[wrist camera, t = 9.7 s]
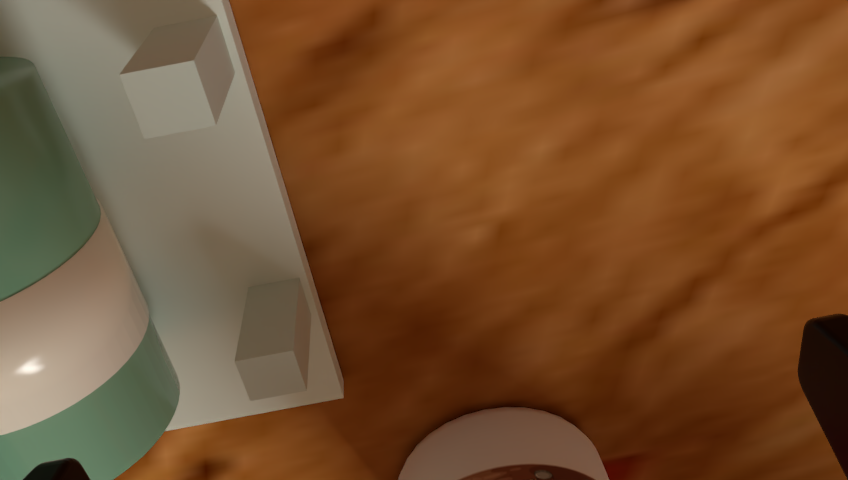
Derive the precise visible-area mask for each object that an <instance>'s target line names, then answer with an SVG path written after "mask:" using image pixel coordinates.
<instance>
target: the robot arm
mask: <svg viewBox="0 0 848 480" xmlns="http://www.w3.org/2000/svg"><path fill="white" fill-rule="evenodd" d="M798 377H799V381H800V384H801V387H802V389H803V392H804V394H805V396H806V398H807V400H808V401H809V403H810V405H811V407H812V409H813V411H814V413H815V415H816V417H817V419H818V421H819V423H820V425H821V427H822V429H823V431H824V433H825V435H826V437H827V439H828V441H829V443H830V445H831V447H832V449H833V451H834V453H835V455H836V457H837V459H838V461H839V463H840V465H841V467H842V469H843V471H844V473H845V475H846V477H847V479H848V315H845V314H833V315H828V316H823V317H817V318H813V319H810V320H808V322H807V323H806V324H805V326H804V330H803V337H802V343H801V350H800V357H799V364H798ZM22 480H91V479H90V478H89V476H88V475H87V473H86V471H85V470H84V468H83V466H82V465H81V464H80V462H79V461H77V460H76V459H74V458H64V459H58V460H53V461H48V462H44V463H41V464H39V465H37V466H36V467H35V468H34V469H33V470H32V471H31V472H30V473H29V474H28V475H27V476H25V477H24V478H23V479H22Z"/></svg>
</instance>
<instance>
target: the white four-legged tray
mask: <svg viewBox="0 0 848 480" xmlns="http://www.w3.org/2000/svg"><path fill="white" fill-rule="evenodd" d="M4 56H5V57H19V58H24V59H28V60H30V61H31V62H33V63H34V65H35V66H36V69H37V71H38V73H39V75H40V77H41V79H42V82H43V84H44V86H45V88H46V90H47V92H48V95H49V97H50V99H51V101H52V103H53V106H54V108H55V110H56V112H57V114H58V116H59V119H60V121H61V123H62V125H63V127H64V130H65V132H66V134H67V136H68V138H69V140H70V143H71V145H72V147H73V149H74V151H75V153H76V156H77V158H78V160H79V162H80V164H81V167H82V169H83V171H84V173H85V175H86V177H87V180H88V182H89V184H90V186H91V188H92V191H93V193H94V195H95V197H96V198H97V199H98V200H99V201H100V203H101V205H102V207H103V209H104V211H105V213H106V216H107V218H108V220H109V222H110V224H111V227H112V229H113V231H114V233H115V235H116V238H117V240H118V242H119V244H120V246H121V249H122V251H123V253H124V255H125V257H126V259H127V262H128V264H129V266H130V268H131V270H132V273H133V275H134V277H135V279H136V281H137V284H138V286H139V288H140V290H141V292H142V294H143V297H144V299H145V301H146V303H147V306H148V310H149V315H150V317H151V319H152V321H153V323H154V326H155V328H156V330H157V332H158V334H159V336H160V339H161V341H162V343H163V345H164V347H165V350H166V352H167V354H168V356H169V358H170V360H171V363H172V365H173V367H174V369H175V371H176V374H177V376H178V379H179V383H180V396H179V402H178V405H177V408H176V411H175V414H174V416H173V418H172V420H171V422H170V424H169V425H168V427H167V428H166V430H165V431H169V430H175V429H180V428H185V427H191V426H196V425H202V424H207V423H212V422H218V421H223V420H228V419H234V418H239V417H244V416H250V415H255V414H261V413H266V412H271V411H277V410H282V409H287V408H293V407H298V406H303V405H309V404H314V403H320V402H325V401H330V400H336V399H341V398H344V380H343V377H342V373H341V370H340V367H339V364H338V360H337V357H336V354H335V350H334V347H333V344H332V340H331V337H330V334H329V330H328V327H327V324H326V320H325V317H324V314H323V311H322V307H321V304H320V301H319V297H318V294H317V291H316V287H315V284H314V281H313V277H312V274H311V271H310V267H309V264H308V261H307V258H306V254H305V251H304V248H303V244H302V241H301V238H300V234H299V231H298V228H297V224H296V221H295V218H294V214H293V211H292V208H291V205H290V201H289V198H288V195H287V191H286V188H285V185H284V181H283V178H282V175H281V171H280V168H279V165H278V162H277V158H276V155H275V152H274V148H273V145H272V142H271V138H270V135H269V132H268V128H267V125H266V122H265V118H264V115H263V112H262V109H261V105H260V102H259V99H258V95H257V92H256V89H255V85H254V82H253V79H252V75H251V72H250V69H249V65H248V62H247V59H246V56H245V52H244V49H243V46H242V42H241V39H240V36H239V32H238V29H237V26H236V22H235V19H234V16H233V12H232V9H231V6H230V3H229V0H0V57H4Z"/></svg>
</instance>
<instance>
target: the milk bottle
mask: <svg viewBox="0 0 848 480" xmlns="http://www.w3.org/2000/svg"><path fill="white" fill-rule="evenodd" d="M398 480H609V478H608V475H607V473H606V470H605V468H604V466H603V463H602V461H601V459H600V456H599V454H598V452H597V450H596V448H595V446H594V445H593V443H592V442H591V441H590V440H589V438H588V437H587V436H586V435H585V434H584V433H582V432H581V431H580V430H579V429H578V428H577V427H576V426H575V425H573V424H571V423H570V422H568V421H566V420H565V419H563V418H562V417H560V416H557V415H554V414H551V413H548V412H546V411H543V410H536V409H531V408H526V407H501V408H494V409H485V410H481V411H478V412H474V413H470V414H466V415H463V416H461V417H459V418H457V419H454V420H452V421H450V422H447V423H445V424H444V425H442V426H441V427H439V428H438V429H436V430H434V431H433V432H431V433H430V434H428V435H427V436H426V437H425V438H424V439H423V440H422V441H421V442H420V443H419V444H417V445H416V447H415V448H414V450H413V451H412V453H411V454H410V455H409V456H408V458H407V460H406V462H405V464H404V467H403V469H402V471H401V473H400V475H399V478H398Z"/></svg>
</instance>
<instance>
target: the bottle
mask: <svg viewBox="0 0 848 480" xmlns="http://www.w3.org/2000/svg"><path fill="white" fill-rule="evenodd" d="M179 396H180V383H179V379H178V376H177V374H176V371H175V369H174V367H173V365H172V363H171V360H170V358H169V356H168V354H167V352H166V350H165V347H164V345H163V343H162V341H161V339H160V336H159V334H158V332H157V330H156V328H155V326H154V323H153V321H152V319H151V317H150V315H149V310H148V306H147V303H146V301H145V299H144V297H143V294H142V292H141V290H140V288H139V286H138V284H137V281H136V279H135V277H134V275H133V273H132V270H131V268H130V266H129V264H128V262H127V259H126V257H125V255H124V253H123V251H122V249H121V246H120V244H119V242H118V240H117V238H116V235H115V233H114V231H113V229H112V227H111V224H110V222H109V220H108V218H107V216H106V213H105V211H104V209H103V207H102V205H101V203H100V201H99V200H98V199H97V198H96V197H95V195H94V193H93V191H92V188H91V186H90V184H89V182H88V180H87V177H86V175H85V173H84V171H83V169H82V167H81V164H80V162H79V160H78V158H77V156H76V153H75V151H74V149H73V147H72V145H71V143H70V140H69V138H68V136H67V134H66V132H65V130H64V127H63V125H62V123H61V121H60V119H59V116H58V114H57V112H56V110H55V108H54V106H53V103H52V101H51V99H50V97H49V95H48V92H47V90H46V88H45V86H44V84H43V82H42V79H41V77H40V75H39V73H38V71H37V69H36V66H35V65H34V63H33V62H31V61H30V60H28V59H24V58H19V57H5V56H4V57H0V480H22V479H23V478H24V477H25V476H27V475H28V474H29V473H30V472H31V471H32V470H33V469H34V468H35V467H36V466H37V465H39V464H41V463H44V462H48V461H53V460H58V459H64V458H74V459H76V460H77V461H79V462H80V464H81V465H82V466H83V468H84V470H85V471H86V473H87V475H88V476H89V478H90V479H91V480H113V479H114V478H116V477H118V476H119V475H120V474H122V473H123V472H124V471H126V470H127V469H128V468H130V467H131V466H132V465H133V464H135V463H136V462H137V461H138V460H139V459H140V458H141V457H143V456H144V455H145V454H146V453H147V452H148V450H149V449H150V448H151V447H152V446H153V445H154V444H155V443H156V442H157V440H158V439H159V438H160V437H161V436H162V434H163V433H164V431H165V430H166V428H167V427H168V425H169V424H170V422H171V420H172V418H173V416H174V414H175V411H176V408H177V405H178V402H179Z"/></svg>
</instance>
